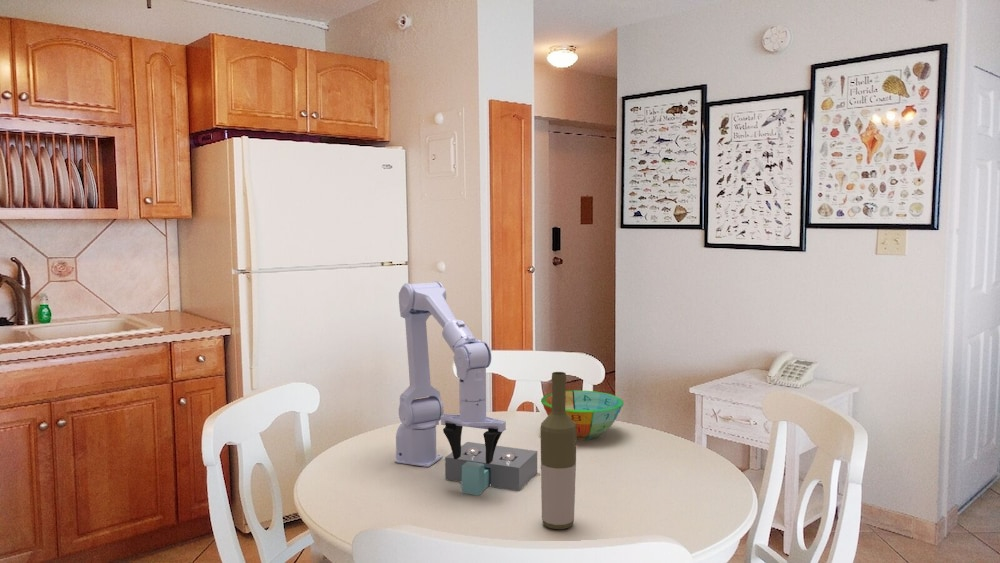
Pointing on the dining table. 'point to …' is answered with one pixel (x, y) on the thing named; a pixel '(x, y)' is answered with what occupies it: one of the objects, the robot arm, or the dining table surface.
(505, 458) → the plunger right
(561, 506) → the bottle
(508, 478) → the housing
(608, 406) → the bowl
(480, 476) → the cartridge
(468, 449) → the plunger left
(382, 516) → the dining table surface
